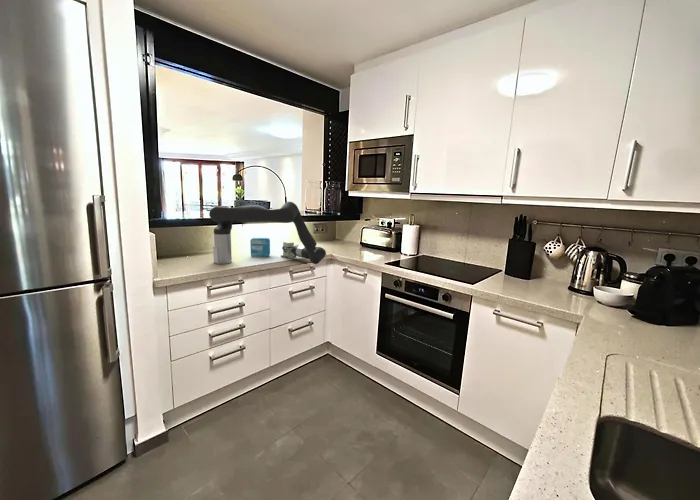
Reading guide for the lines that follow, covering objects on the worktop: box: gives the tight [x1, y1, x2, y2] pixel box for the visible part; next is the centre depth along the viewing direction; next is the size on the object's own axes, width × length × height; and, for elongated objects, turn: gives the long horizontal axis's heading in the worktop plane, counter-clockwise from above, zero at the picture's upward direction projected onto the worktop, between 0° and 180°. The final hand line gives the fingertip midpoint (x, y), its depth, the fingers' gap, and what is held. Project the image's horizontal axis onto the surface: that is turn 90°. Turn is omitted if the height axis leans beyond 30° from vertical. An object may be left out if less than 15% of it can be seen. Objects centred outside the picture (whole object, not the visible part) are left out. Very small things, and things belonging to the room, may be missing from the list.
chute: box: [280, 254, 297, 259], centre depth 207 cm, size 7×7×1 cm
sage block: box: [282, 241, 295, 259], centre depth 206 cm, size 4×6×10 cm
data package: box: [249, 237, 271, 258], centre depth 206 cm, size 12×4×12 cm, turn 98°
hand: (286, 247), depth 208 cm, fingers closed on sage block, 4 cm apart
